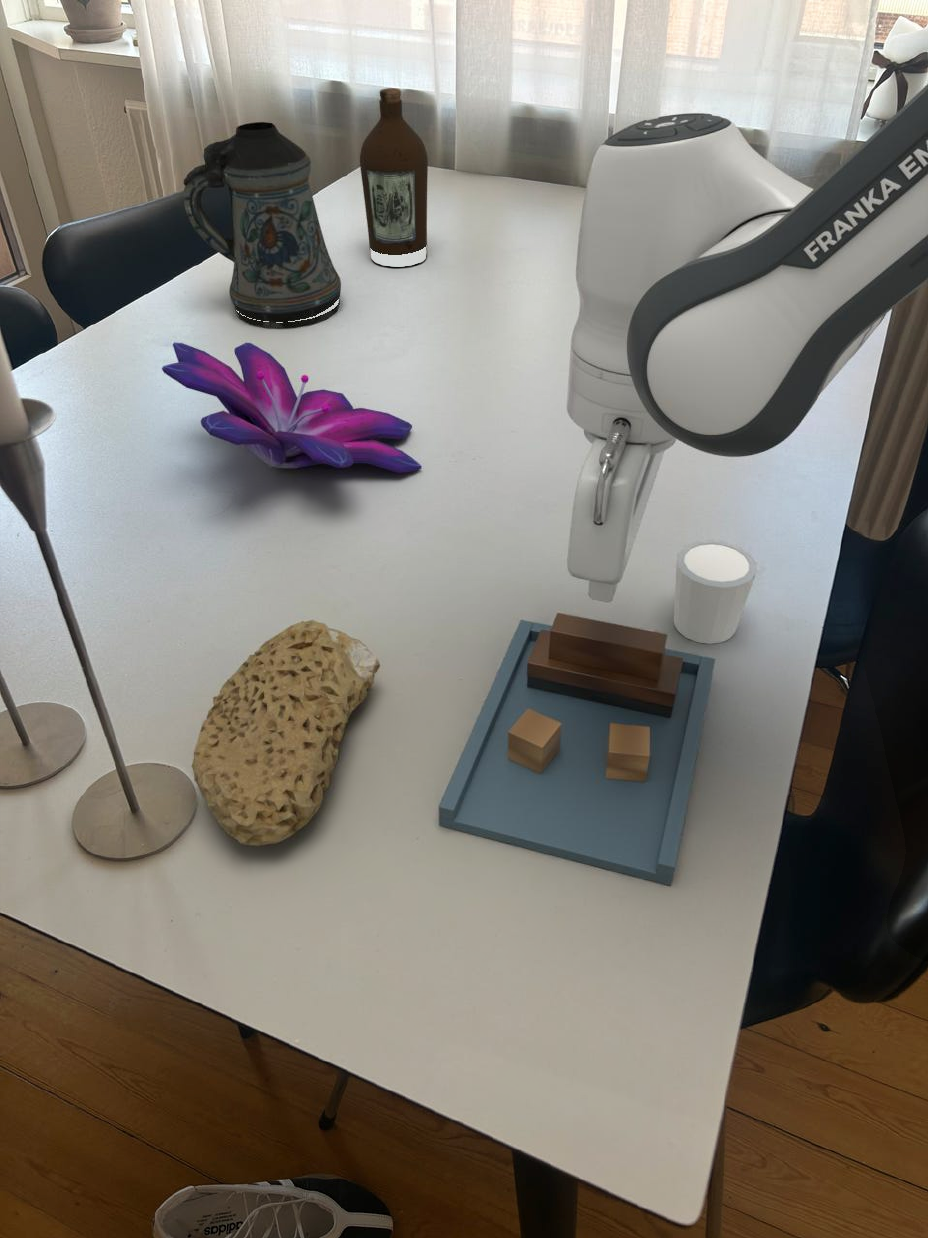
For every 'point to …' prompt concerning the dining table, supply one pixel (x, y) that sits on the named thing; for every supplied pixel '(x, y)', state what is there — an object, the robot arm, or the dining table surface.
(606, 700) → the brush
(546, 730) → the brown wooden cube
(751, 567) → the white cup
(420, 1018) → the dining table surface
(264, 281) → the beer stein
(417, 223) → the olive oil
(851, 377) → the dining table surface
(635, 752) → the light brown wooden cube
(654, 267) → the robot arm
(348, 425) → the decorative flower
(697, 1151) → the dining table surface
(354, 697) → the sponge
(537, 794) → the tray
